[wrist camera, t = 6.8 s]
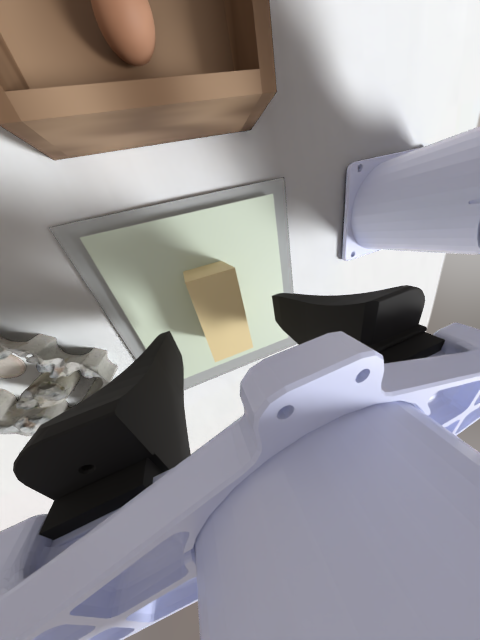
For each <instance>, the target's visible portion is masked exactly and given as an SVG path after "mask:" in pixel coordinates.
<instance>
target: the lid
mask: <svg viewBox="0 0 480 640" xmlns="http://www.w3.org/2000/svg"><path fill="white" fill-rule="evenodd" d="M80 239H81V241H82V243H83V244H84V246H85V248H86V249H87V251H88V253H89V254H90V256H91V258H92V259H93V261H94V263H95V264H96V266H97V268H98V270H99V271H100V273H101V275H102V276H103V278H104V280H105V281H106V283H107V285H108V286H109V288H110V290H111V291H112V293H113V295H114V296H115V298H116V300H117V301H118V303H119V305H120V306H121V308H122V310H123V311H124V313H125V315H126V316H127V318H128V320H129V321H130V323H131V325H132V326H133V328H134V330H135V331H136V333H137V335H138V336H139V338H140V340H141V341H142V343H143V345H144V346H145V348H146V349H147V347H148V346H149V345H150V344H151V343H152V342H153V341H154V339H155V338H156V337H157V336H158V335H159V334H161V333H164V332H167V331H170V332H171V334H172V336H173V338H174V340H175V342H176V344H177V346H178V348H179V350H180V352H181V355H182V359H183V366H184V379H185V378H188V377H190V376H193V375H195V374H198V373H200V372H203V371H205V370H208V369H210V368H213V367H215V366H218V365H220V364H223V363H225V362H228V361H230V360H233V359H236V358H238V357H241V356H243V355H246V354H248V353H251V352H253V351H256V350H258V349H261V348H263V347H266V346H268V345H271V344H273V343H276V342H278V341H281V340H283V339H286V338H288V334H286V333H285V332H284V331H283V330H282V329H281V327H280V326H279V325H278V324H277V322H276V321H275V315H274V308H273V301H272V296H273V295H276V294H278V293H284V291H283V282H282V273H281V263H280V254H279V244H278V235H277V225H276V216H275V206H274V197H273V194H269V195H265V196H261V197H256V198H252V199H247V200H243V201H239V202H234V203H230V204H225V205H221V206H217V207H212V208H208V209H203V210H199V211H195V212H190V213H186V214H181V215H177V216H173V217H168V218H164V219H159V220H155V221H151V222H146V223H142V224H137V225H133V226H129V227H124V228H120V229H115V230H111V231H107V232H102V233H98V234H93V235H89V236H85V237H80Z"/></svg>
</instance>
